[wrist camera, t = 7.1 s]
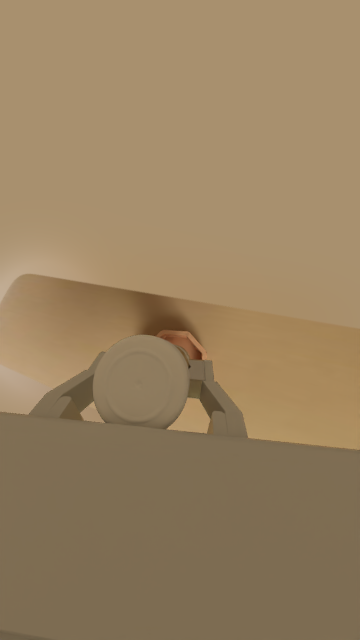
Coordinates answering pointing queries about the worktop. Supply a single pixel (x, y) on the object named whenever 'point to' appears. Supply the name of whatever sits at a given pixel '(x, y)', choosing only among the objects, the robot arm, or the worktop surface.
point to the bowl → (184, 343)
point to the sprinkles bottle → (142, 382)
